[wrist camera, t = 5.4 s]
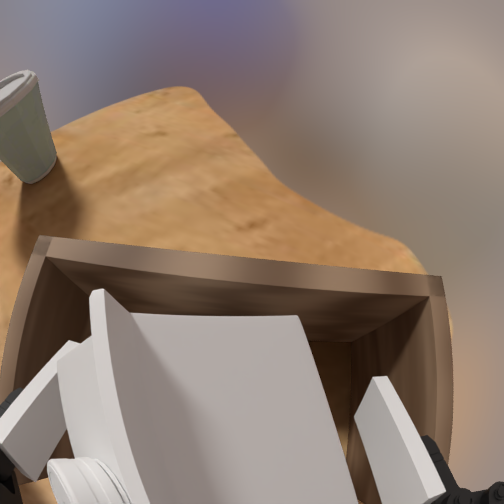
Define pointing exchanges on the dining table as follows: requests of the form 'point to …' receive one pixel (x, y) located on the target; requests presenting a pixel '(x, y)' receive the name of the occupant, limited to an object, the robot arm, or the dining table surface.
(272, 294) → the walnut cubby
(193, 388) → the milk carton
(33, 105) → the disposable coffee cup
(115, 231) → the dining table surface
